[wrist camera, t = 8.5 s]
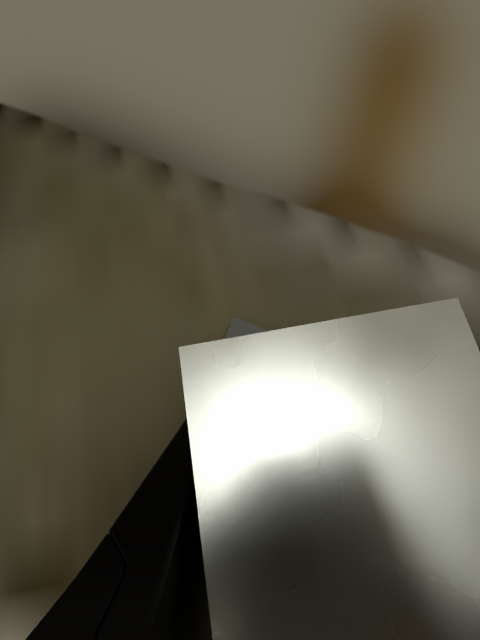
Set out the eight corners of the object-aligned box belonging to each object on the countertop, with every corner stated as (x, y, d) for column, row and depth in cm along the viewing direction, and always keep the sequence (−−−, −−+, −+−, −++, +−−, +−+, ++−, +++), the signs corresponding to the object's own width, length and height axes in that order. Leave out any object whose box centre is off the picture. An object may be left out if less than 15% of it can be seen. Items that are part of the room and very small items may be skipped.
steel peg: (394, 533, 12) (602, 644, 5) (244, 561, 12) (221, 717, 5) (352, 384, 14) (457, 297, 7) (221, 408, 14) (178, 347, 7)
